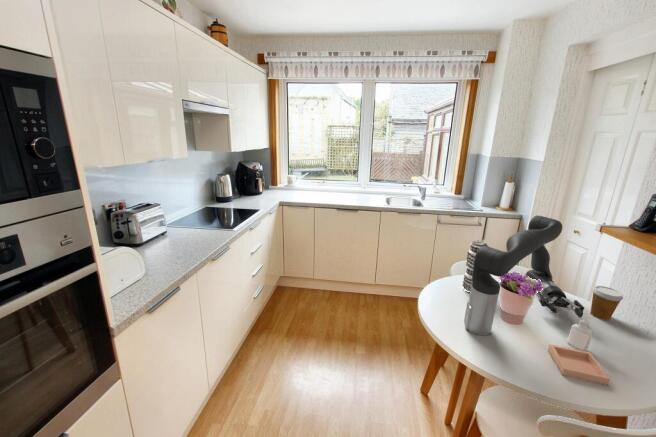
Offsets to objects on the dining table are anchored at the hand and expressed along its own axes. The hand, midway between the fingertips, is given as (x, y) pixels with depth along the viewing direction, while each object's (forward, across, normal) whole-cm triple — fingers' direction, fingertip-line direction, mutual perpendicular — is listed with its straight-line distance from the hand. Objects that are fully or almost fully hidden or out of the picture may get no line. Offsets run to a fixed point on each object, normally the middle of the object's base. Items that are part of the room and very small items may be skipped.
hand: (568, 313), depth 115 cm
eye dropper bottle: (+11, 0, +7) cm, 13 cm away
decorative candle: (-20, -31, +7) cm, 38 cm away
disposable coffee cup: (-16, +19, +7) cm, 26 cm away
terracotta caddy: (+23, -5, +7) cm, 25 cm away
